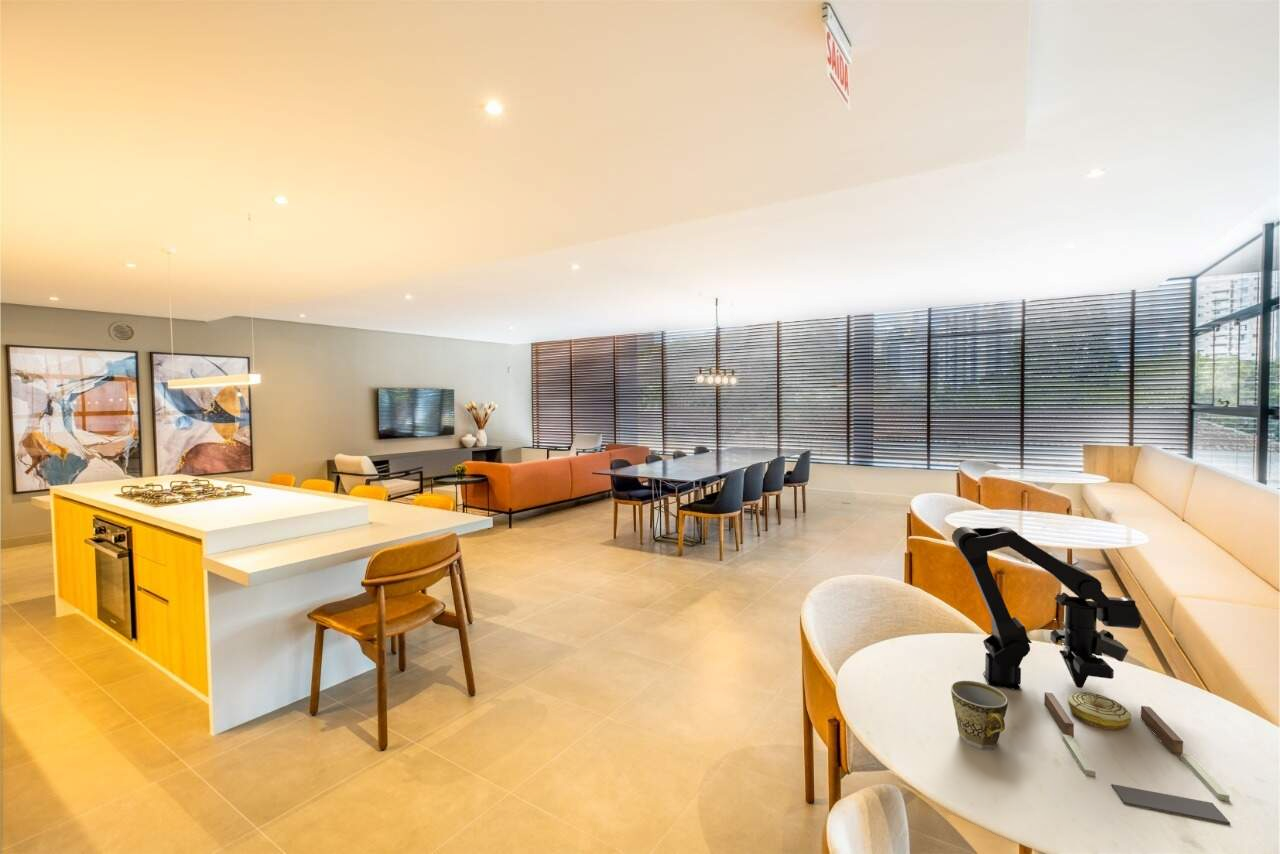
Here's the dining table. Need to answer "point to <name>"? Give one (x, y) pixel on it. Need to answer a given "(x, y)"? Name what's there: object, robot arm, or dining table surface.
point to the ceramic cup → (979, 713)
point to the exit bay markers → (1187, 759)
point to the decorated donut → (1099, 710)
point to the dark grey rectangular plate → (1170, 804)
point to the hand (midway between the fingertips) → (1078, 687)
